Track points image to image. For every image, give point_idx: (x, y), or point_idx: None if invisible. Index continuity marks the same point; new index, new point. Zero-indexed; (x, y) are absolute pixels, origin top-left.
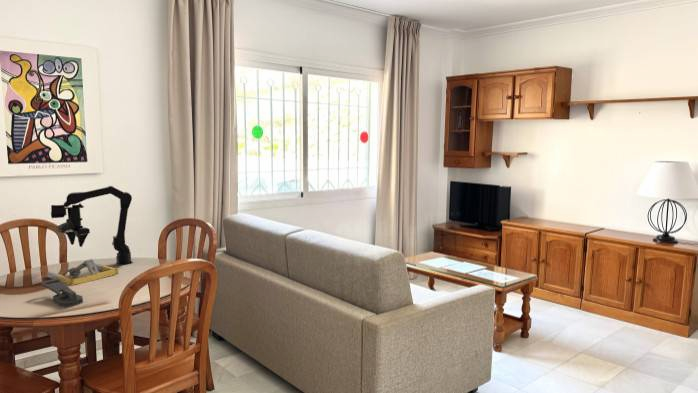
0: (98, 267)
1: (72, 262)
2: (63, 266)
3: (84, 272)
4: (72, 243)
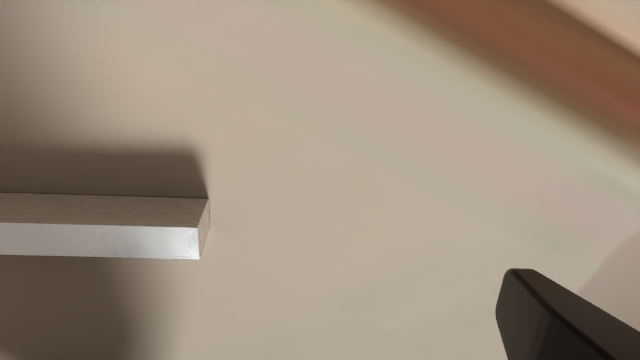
0: (2, 206)
1: (634, 203)
2: (575, 45)
3: (7, 31)
4: (514, 315)
